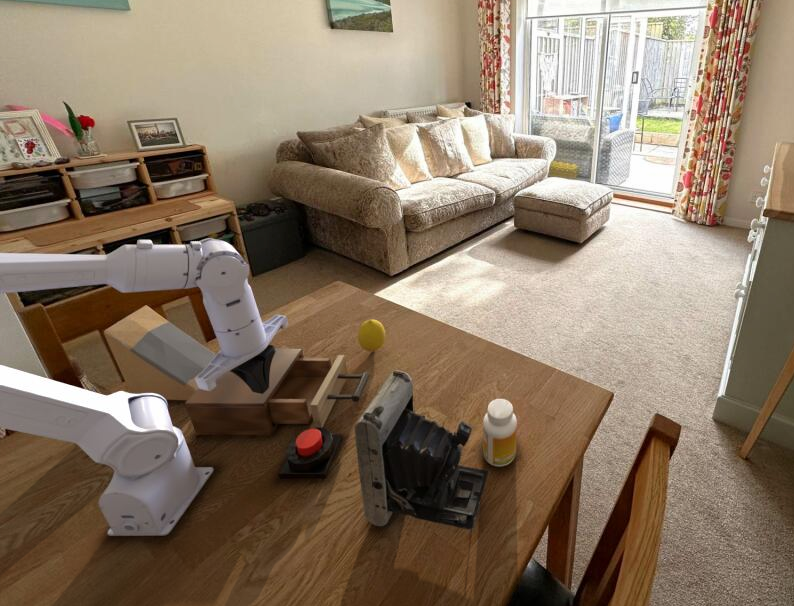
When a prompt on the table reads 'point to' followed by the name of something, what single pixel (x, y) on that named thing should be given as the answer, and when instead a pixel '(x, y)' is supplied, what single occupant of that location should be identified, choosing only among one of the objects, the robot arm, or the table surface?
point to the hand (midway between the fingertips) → (260, 389)
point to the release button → (309, 442)
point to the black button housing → (311, 458)
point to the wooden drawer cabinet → (239, 402)
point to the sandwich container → (157, 355)
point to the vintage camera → (413, 462)
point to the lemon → (371, 335)
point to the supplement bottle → (499, 433)
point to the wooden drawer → (312, 391)
